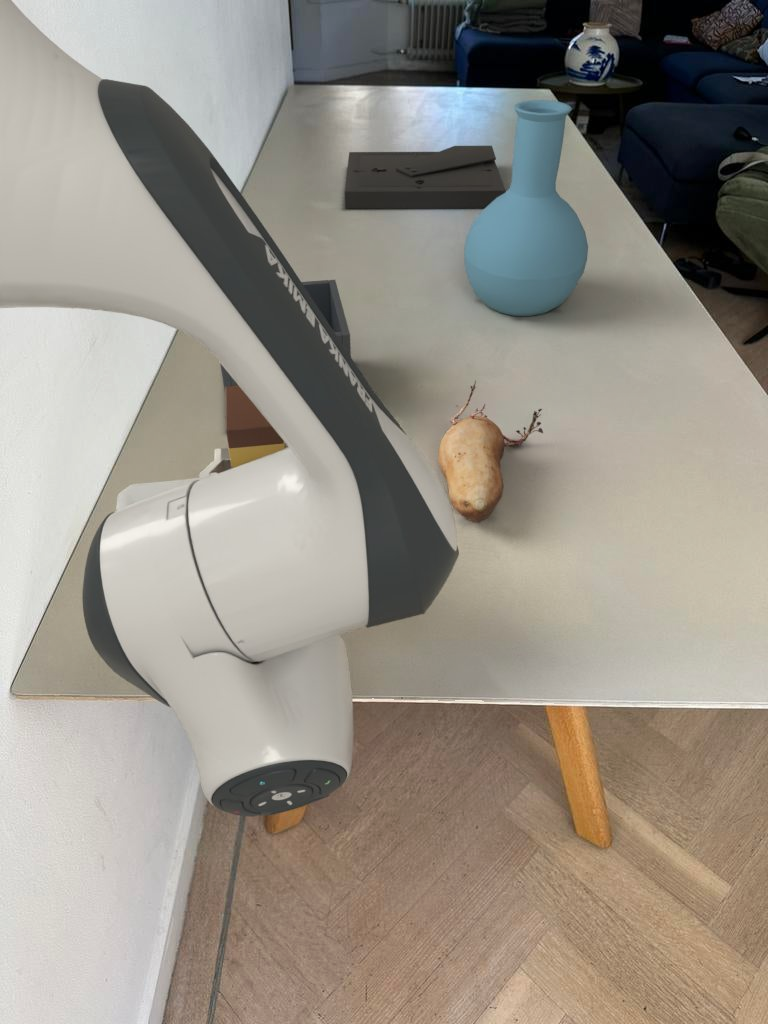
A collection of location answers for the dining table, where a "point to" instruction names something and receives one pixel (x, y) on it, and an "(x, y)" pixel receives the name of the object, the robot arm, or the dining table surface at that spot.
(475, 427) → the vegetable
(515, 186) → the vase
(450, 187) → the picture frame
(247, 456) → the chocolate box
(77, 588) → the dining table surface
